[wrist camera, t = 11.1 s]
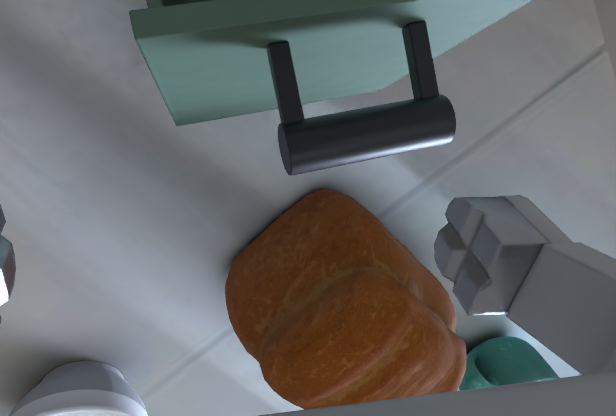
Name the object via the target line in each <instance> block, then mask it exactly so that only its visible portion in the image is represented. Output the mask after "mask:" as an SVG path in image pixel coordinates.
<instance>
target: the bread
mask: <svg viewBox="0 0 616 416" xmlns="http://www.w3.org/2000/svg"><path fill="white" fill-rule="evenodd" d="M225 294H226V305H227V310H228V314H229V319H230V321H231V324H232V326H233V329H234V331H235V333H236V335H237V336H238V338H239V340H240V341H241V343H242V344H243V346H244V348H245V349H246V351H247V352H248V353H249V354H250V355H252V356H253V357H254V358H255V359H256V360H257V361H258V362H259V364H260V367H261V370H262V373H263V377H264V379H265V381H266V382H267V383H268V384H269V386H270V387H271V388H272V389H273V391H275V392H276V393H277V394H278V395H280V396H281V397H282V398H283V399H285V400H287V401H289V402H291V403H292V404H294V405H297V406H299V407H301V408H303V409H304V410H308V409H316V408H324V407H332V406H340V405H348V404H356V403H364V402H372V401H381V400H389V399H397V398H405V397H413V396H421V395H429V394H437V393H445V392H453V391H457V390H458V388H459V386H460V383H461V381H462V379H463V376H464V373H465V370H466V360H467V355H466V344H465V343H464V341H463V339H462V338H460V337H459V336H457V335H456V334H455V331H456V311H455V308H454V305H453V303H452V301H451V299H450V297H449V295H448V293H447V291H446V290H445V288H444V287H443V285H442V284H441V283H440V282H439V280H438V279H437V278H436V277H435V276H434V275H433V274H432V273H431V272H430V271H429V270H428V269H427V268H425V267H424V266H423V265H422V264H421V263H420V262H419V261H418V260H417V259H416V258H415V256H414V255H413V254H412V253H411V252H410V251H409V250H408V249H407V248H405V247H404V246H403V245H402V244H401V243H400V242H399V241H398V240H397V239H395V238H394V237H393V236H392V235H391V233H390V232H389V231H388V230H387V229H386V228H385V227H384V226H383V225H382V224H381V223H380V222H379V220H378V219H377V218H376V217H375V216H374V215H372V214H371V213H370V212H369V211H368V210H367V209H366V208H364V207H363V206H362V205H361V204H360V203H358V202H357V201H356V200H355V199H354V198H352V197H350V196H348V195H345V194H343V193H340V192H337V191H331V190H318V191H316V192H313V193H311V194H308V195H306V196H305V197H304V198H303V199H301V200H300V201H299V202H297V203H296V204H295V205H293V206H292V207H291V208H290V209H288V210H287V211H286V212H285V213H283V214H282V215H281V216H280V217H279V218H277V219H276V220H275V221H274V222H273V223H272V224H271V225H270V226H269V227H268V228H267V229H266V230H264V231H263V232H262V233H261V234H260V235H259V236H258V237H257V238H256V239H255V240H254V241H253V242H251V243H250V244H249V245H248V246H247V247H246V248H245V249H244V250H243V251H242V252H241V253H240V254H239V255H238V256H237V257H236V258H235V260H234V262H233V263H232V265H231V268H230V271H229V274H228V277H227V280H226V286H225Z"/></svg>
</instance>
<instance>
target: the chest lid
mask: <svg viewBox="0 0 616 416" xmlns="http://www.w3.org/2000/svg"><path fill="white" fill-rule="evenodd" d="M530 1H531V0H211V1H203V2H195V3H187V4H179V5H171V6H164V7H156V8H148V9H140V10H132V11H130V13H129V14H130V19H131V23H132V28H133V32H134V37H135V40H136V42H137V44H138V46H139V48H140V50H141V52H142V54H143V56H144V59H145V61H146V63H147V65H148V67H149V69H150V71H151V73H152V75H153V78H154V80H155V82H156V84H157V86H158V88H159V90H160V92H161V94H162V97H163V99H164V101H165V103H166V105H167V107H168V109H169V111H170V113H171V116H172V118H173V120H174V122H175V124H176V126H181V125H187V124H193V123H198V122H204V121H210V120H216V119H221V118H227V117H233V116H238V115H244V114H250V113H256V112H261V111H267V110H273V109H279V114H280V119H281V123H280V124H279V126H278V141H279V148H280V153H281V157H282V161H283V164H284V167H285V170H286V172H287V173H288V175H290V176H292V175H297V174H302V173H306V172H311V171H316V170H321V169H326V168H331V167H336V166H341V165H346V164H351V163H355V162H360V161H365V160H370V159H375V158H380V157H385V156H390V155H395V154H400V153H404V152H409V151H414V150H419V149H424V148H429V147H434V146H439V145H444V144H448V143H449V142H451V141H452V139H453V137H454V135H455V130H456V118H455V112H454V109H453V106H452V104H451V102H450V101H449V99H448V98H447V97H446V96H444V95H439V92H438V86H437V81H436V75H435V70H434V64H433V59H434V58H435V57H437V56H439V55H440V54H442V53H444V52H445V51H447V50H449V49H450V48H452V47H454V46H455V45H457V44H459V43H461V42H462V41H464V40H466V39H467V38H469V37H471V36H472V35H474V34H476V33H477V32H479V31H481V30H482V29H484V28H486V27H488V26H489V25H491V24H493V23H494V22H496V21H498V20H499V19H501V18H503V17H504V16H506V15H508V14H510V13H511V12H513V11H515V10H516V9H518V8H520V7H521V6H523V5H525V4H526V3H528V2H530ZM408 73H410V79H411V84H412V90H413V95H414V99H412V100H406V101H401V102H395V103H390V104H384V105H379V106H373V107H368V108H362V109H357V110H351V111H346V112H340V113H335V114H329V115H323V116H318V117H312V118H307V119H304V115H303V110H302V105H301V104H307V103H313V102H318V101H324V100H330V99H336V98H341V97H347V96H353V95H358V94H364V93H370V92H375V91H380V90H381V89H383V88H385V87H386V86H388V85H390V84H391V83H393V82H395V81H396V80H398V79H400V78H401V77H403V76H405V75H407V74H408Z"/></svg>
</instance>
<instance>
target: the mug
mask: <svg viewBox="0 0 616 416" xmlns="http://www.w3.org/2000/svg"><path fill="white" fill-rule="evenodd" d="M558 378H559V377H558V375H557V374H556V373H555V372H554V370H553V369H552V368H551V367H550V365H549V364H548V363H547V362H546V361H545V360H544V358H543V357H542V356H541V355H540V354H539V353H538V352H537V351H536V349H535V348H534V347H532V346H531V345H530V344H529V343H527V342H526V341H524V340H522V339H519V338H516V337H498V338H492V339H489V340H486V341H484V342H482V343H480V344H478V345H477V346H475V347H474V348H473V349H472V350H471V351H470V352H469V353H468V355H467V360H466V370H465V373H464V376H463V379H462V381H461V383H460V386H459V390H460V391H461V390H469V389H477V388H485V387H493V386H501V385H509V384H517V383H525V382H533V381H541V380H549V379H558Z"/></svg>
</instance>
